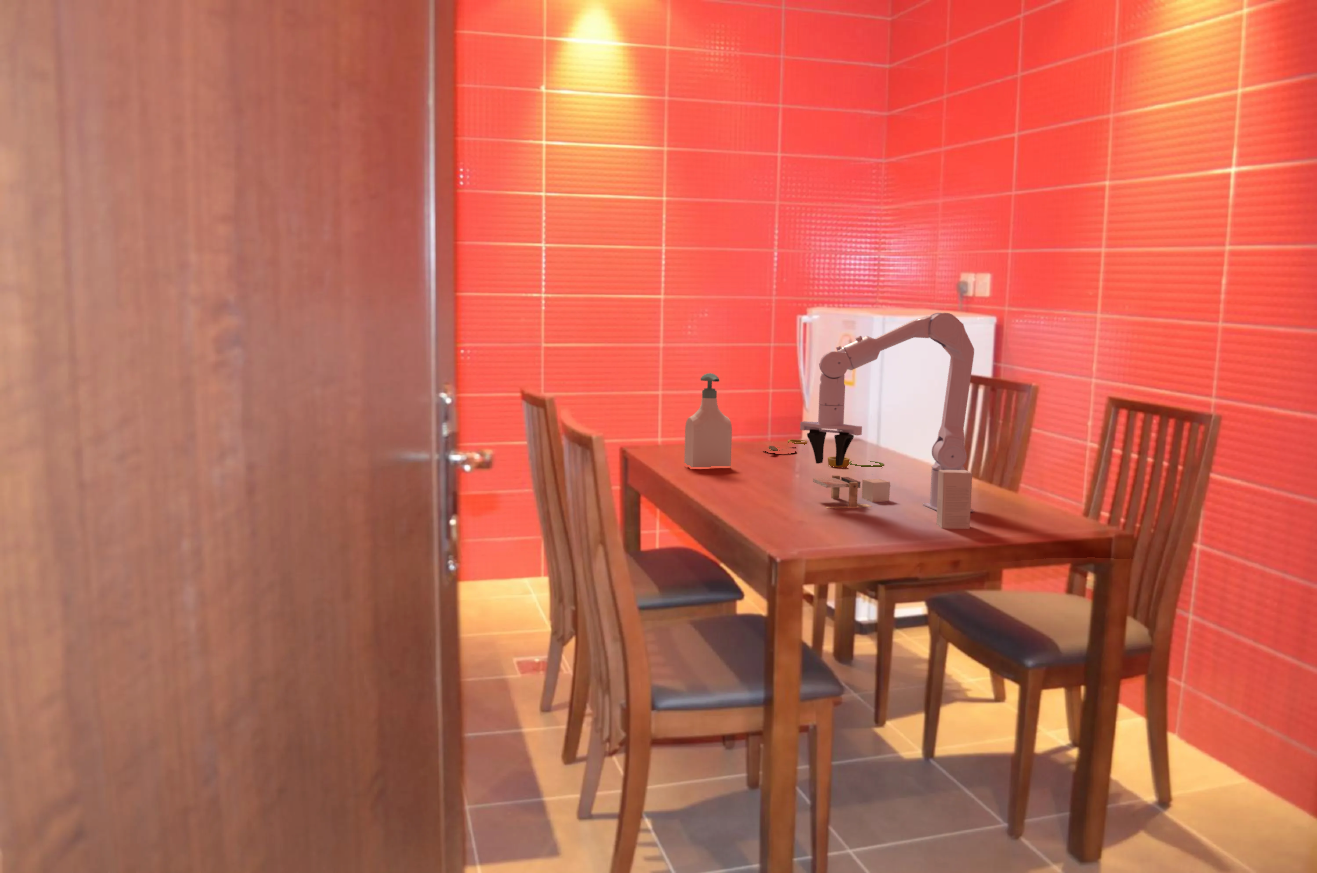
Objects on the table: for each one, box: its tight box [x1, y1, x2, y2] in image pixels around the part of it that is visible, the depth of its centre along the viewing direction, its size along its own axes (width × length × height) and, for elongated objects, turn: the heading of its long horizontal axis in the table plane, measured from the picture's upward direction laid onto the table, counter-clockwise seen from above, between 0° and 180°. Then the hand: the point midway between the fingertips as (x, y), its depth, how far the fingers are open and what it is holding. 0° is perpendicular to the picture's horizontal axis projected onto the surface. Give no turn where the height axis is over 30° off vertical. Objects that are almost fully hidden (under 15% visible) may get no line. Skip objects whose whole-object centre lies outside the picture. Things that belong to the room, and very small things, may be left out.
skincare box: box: [936, 469, 973, 530], centre depth 220 cm, size 6×4×12 cm
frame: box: [824, 474, 873, 510], centre depth 242 cm, size 11×11×6 cm
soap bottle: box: [683, 372, 733, 467], centre depth 283 cm, size 11×8×27 cm
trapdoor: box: [812, 476, 861, 489], centre depth 241 cm, size 8×8×1 cm
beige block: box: [861, 478, 891, 503], centre depth 246 cm, size 5×5×6 cm
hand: (829, 464), depth 240 cm, fingers open, 4 cm apart
